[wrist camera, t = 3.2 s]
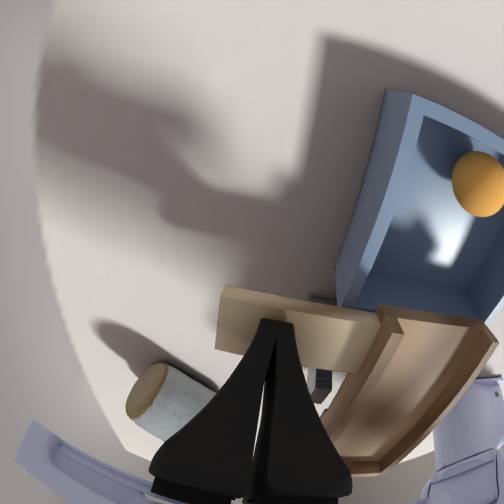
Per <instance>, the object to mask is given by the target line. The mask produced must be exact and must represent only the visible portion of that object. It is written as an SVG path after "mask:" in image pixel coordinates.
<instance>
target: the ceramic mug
mask: <svg viewBox="0 0 504 504" xmlns="http://www.w3.org/2000/svg"><path fill="white" fill-rule="evenodd" d="M216 394H217V393H215V392H214V391H212V390H210V389H209V388H207V387H205V386H204V385H202V384H200V383H198V382H197V381H195V380H193V379H192V378H190V377H188V376H187V375H185V374H184V373H182V372H181V371H179V370H178V369H176V368H174V367H172V366H170V365H168V364H166V363H156V364H153V365H152V366H150V367H149V368H148V369H147V370H146V371H145V372H144V373H143V374H142V375H141V376H140V377H139V379H138V380H137V382H136V383H135V384H134V386H133V388H132V390H131V392H130V394H129V396H128V398H127V401H126V413H127V415H128V416H129V418H130V419H131V420H132V421H134V422H135V423H136V424H137V425H138V426H139V427H141V428H143V429H144V430H146V431H147V432H149V433H151V434H153V435H154V436H156V437H158V438H159V439H161V440H163V441H164V442H165V441H166V440H167V439H169V438H170V437H171V436H172V435H174V434H175V433H176V432H177V431H179V430H180V429H181V428H182V427H183V426H185V425H186V424H187V423H188V422H189V421H190V420H191V419H192V418H193V417H194V416H195V415H197V414H198V413H199V412H200V411H201V410H202V409H203V408H204V407H205V406H206V405H207V404H208V402H209V401H210V400H211V399H212V398H213V397H214V396H215V395H216Z"/></svg>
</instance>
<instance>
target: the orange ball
mask: <svg viewBox="0 0 504 504" xmlns="http://www.w3.org/2000/svg"><path fill="white" fill-rule="evenodd" d="M452 188H453V192H454V195H455V197H456V199H457V201H458V203H459V204H460V205H461V207H462V208H463V209H464V210H466V211H467V212H468V213H470V214H472V215H475V216H478V217H487V216H491V215H493V214H495V213H496V212H498V211H499V210H500V209H501V207H502V206H503V205H504V169H503V167H502V166H501V164H500V163H499V162H498V161H497V160H496V159H495V158H494V157H493V156H491V155H490V154H488V153H485V152H481V151H472V152H469V153H466V154H465V155H463V156H462V157H461V158H460V159H459V160H458V161H457V163H456V165H455V167H454V169H453V173H452Z"/></svg>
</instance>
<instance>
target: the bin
mask: <svg viewBox="0 0 504 504" xmlns="http://www.w3.org/2000/svg"><path fill="white" fill-rule="evenodd" d="M472 151H481V152H485V153H488V154H490V155H491V156H493V157H494V158H495V159H496V160H497V161H498V162H499V163H500V164H501V166H502V167H503V169H504V139H502V138H501V137H499V136H498V135H496V134H494V133H493V132H491V131H489V130H488V129H486V128H484V127H482V126H481V125H479V124H477V123H475V122H473V121H471V120H469V119H468V118H466V117H464V116H462V115H460V114H458V113H456V112H454V111H452V110H450V109H447V108H445V107H443V106H441V105H439V104H436V103H434V102H432V101H430V100H427V99H425V98H422V97H420V96H417V95H415V94H412V93H407V92H401V91H395V90H389V89H386V90H385V95H384V99H383V104H382V109H381V113H380V118H379V122H378V126H377V130H376V135H375V139H374V143H373V147H372V150H371V154H370V158H369V162H368V165H367V169H366V173H365V176H364V180H363V183H362V187H361V190H360V193H359V197H358V200H357V203H356V206H355V210H354V213H353V216H352V219H351V222H350V225H349V228H348V231H347V234H346V237H345V240H344V243H343V246H342V249H341V252H340V254H339V257H338V260H337V263H336V266H335V268H334V272H335V283H336V296H337V307H343V308H349V309H355V310H361V311H367V312H373V313H376V312H377V309H378V307H379V304H383V305H389V306H395V307H401V308H407V309H414V310H420V311H426V312H433V313H440V314H446V315H453V316H460V317H467V318H474V319H481V320H482V321H483V322H484V323H485V325H486V326H488V325H489V324H490V322H491V321H492V320H493V319H494V317H495V316H496V315H497V313H498V312H499V310H500V309H501V308H502V306H503V305H504V205H503V206H502V207H501V209H500V210H499V211H498V212H496V213H495V214H493V215H491V216H487V217H478V216H475V215H472V214H470V213H468V212H467V211H466V210H464V209H463V208H462V207H461V205H460V204H459V203H458V201H457V199H456V197H455V195H454V192H453V188H452V173H453V169H454V167H455V165H456V163H457V161H458V160H459V159H460V158H461V157H462V156H463V155H465V154H466V153H469V152H472Z"/></svg>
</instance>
